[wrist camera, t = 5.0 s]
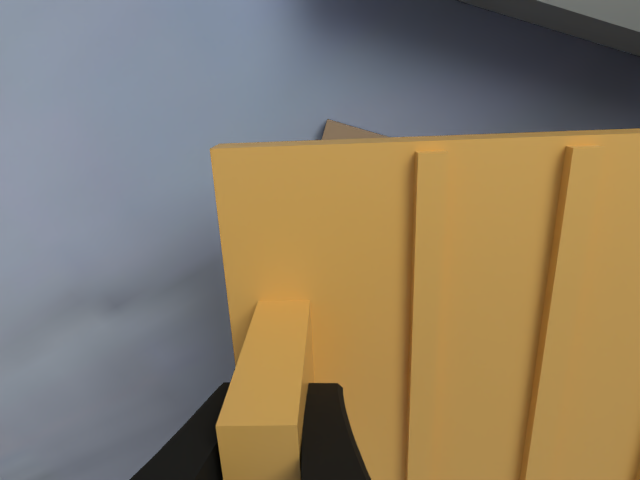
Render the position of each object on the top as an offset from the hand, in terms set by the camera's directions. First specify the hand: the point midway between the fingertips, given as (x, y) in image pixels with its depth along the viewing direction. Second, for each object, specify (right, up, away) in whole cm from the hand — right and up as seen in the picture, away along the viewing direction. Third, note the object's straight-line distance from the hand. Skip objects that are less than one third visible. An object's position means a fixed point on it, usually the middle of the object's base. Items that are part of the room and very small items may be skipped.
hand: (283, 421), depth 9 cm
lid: (+6, +1, +3) cm, 7 cm away
